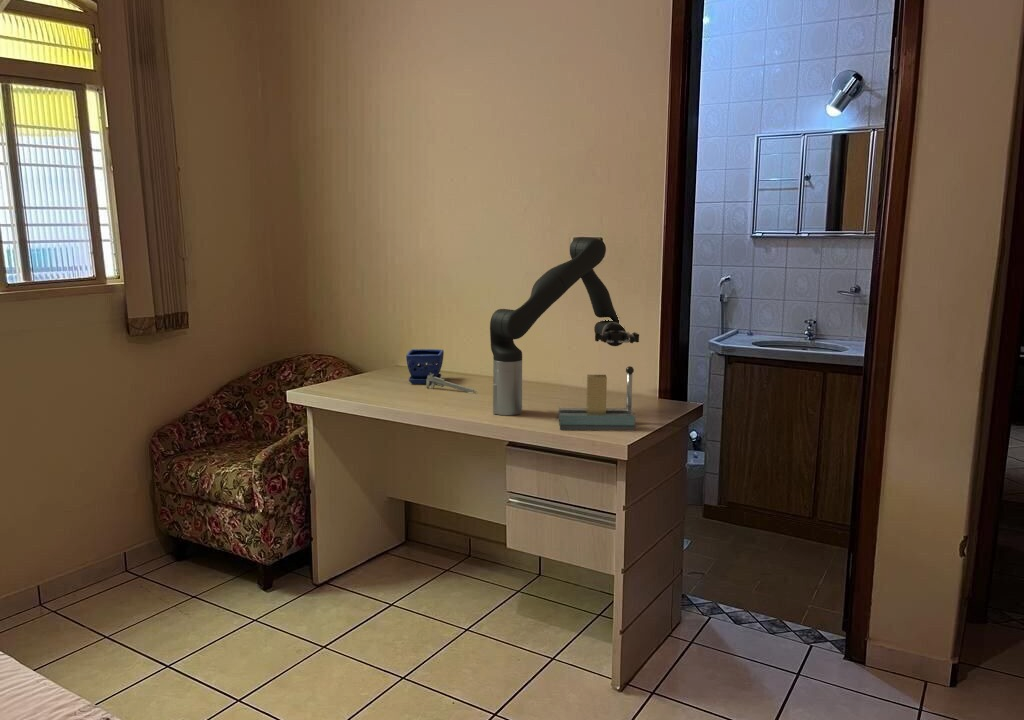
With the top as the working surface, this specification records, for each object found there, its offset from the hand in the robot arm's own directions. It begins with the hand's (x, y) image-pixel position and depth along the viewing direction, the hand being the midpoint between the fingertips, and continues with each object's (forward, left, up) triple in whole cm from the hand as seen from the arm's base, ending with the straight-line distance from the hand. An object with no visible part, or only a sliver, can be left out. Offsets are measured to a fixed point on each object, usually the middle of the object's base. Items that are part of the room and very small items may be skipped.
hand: (618, 339), depth 252 cm
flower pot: (-68, +47, -24) cm, 86 cm away
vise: (-8, -18, -24) cm, 31 cm away
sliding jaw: (-8, -15, -22) cm, 28 cm away
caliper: (-57, +31, -24) cm, 69 cm away
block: (-8, -19, -22) cm, 30 cm away
